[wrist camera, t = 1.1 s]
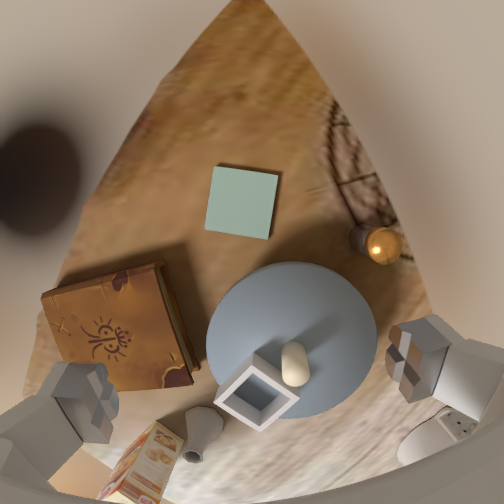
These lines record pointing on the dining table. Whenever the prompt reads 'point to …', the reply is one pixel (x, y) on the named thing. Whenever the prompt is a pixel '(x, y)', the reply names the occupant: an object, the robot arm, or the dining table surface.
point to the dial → (289, 343)
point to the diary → (124, 327)
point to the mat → (241, 202)
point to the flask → (201, 431)
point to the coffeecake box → (143, 468)
